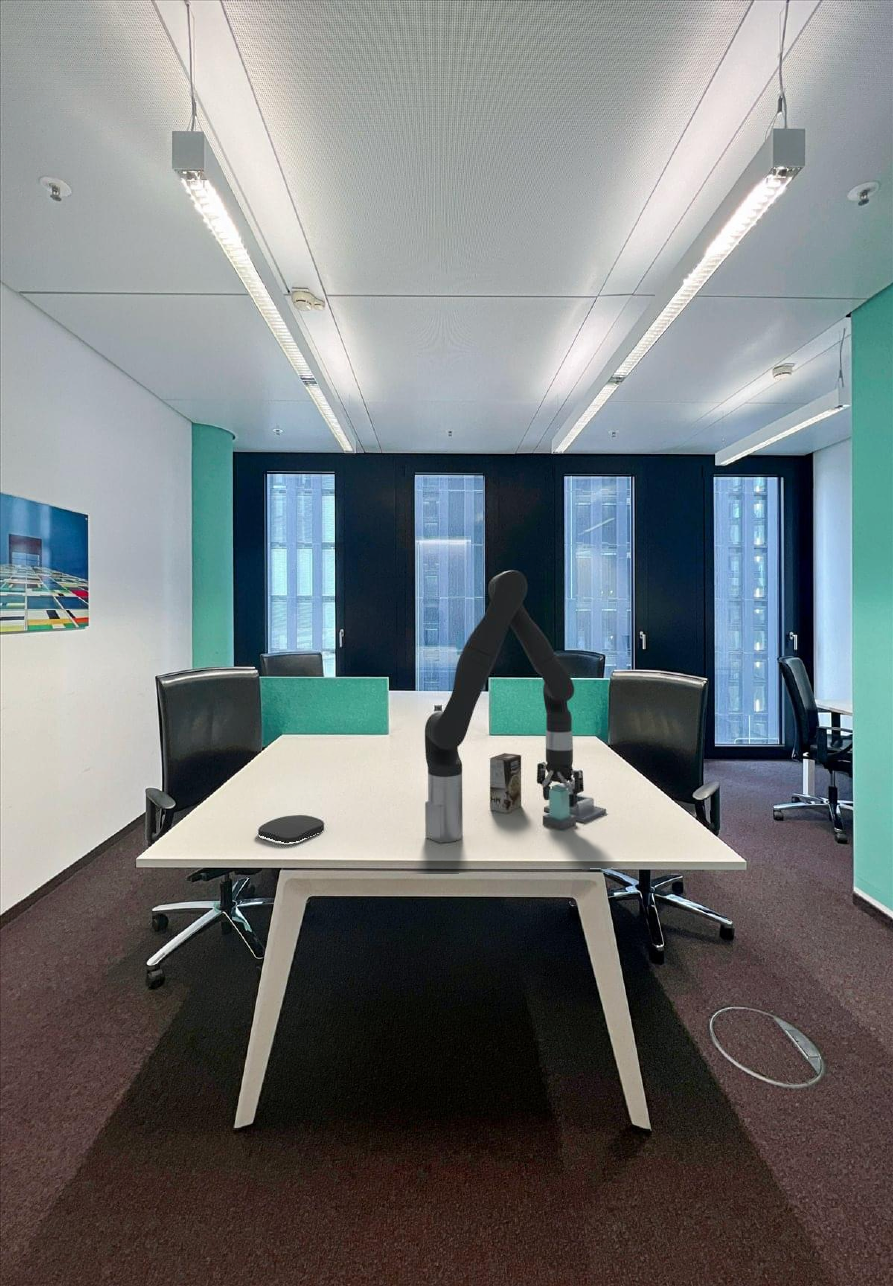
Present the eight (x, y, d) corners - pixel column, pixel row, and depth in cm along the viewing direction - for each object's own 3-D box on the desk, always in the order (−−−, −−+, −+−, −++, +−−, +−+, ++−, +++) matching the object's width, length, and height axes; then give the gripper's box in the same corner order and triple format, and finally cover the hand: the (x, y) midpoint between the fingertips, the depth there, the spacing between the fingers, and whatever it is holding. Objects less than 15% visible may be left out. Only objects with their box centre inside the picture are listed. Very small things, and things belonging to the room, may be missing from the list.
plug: (561, 828, 149) (560, 789, 149) (549, 824, 152) (549, 786, 152) (569, 824, 152) (569, 786, 152) (557, 821, 155) (557, 783, 155)
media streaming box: (290, 849, 138) (289, 837, 138) (252, 837, 145) (251, 826, 145) (330, 830, 150) (330, 819, 150) (293, 821, 158) (293, 811, 158)
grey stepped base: (583, 823, 153) (583, 808, 153) (543, 811, 164) (543, 797, 164) (606, 813, 161) (606, 799, 161) (567, 802, 172) (567, 789, 172)
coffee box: (507, 814, 162) (507, 760, 161) (489, 809, 165) (488, 757, 165) (522, 805, 169) (522, 754, 168) (504, 802, 173) (504, 752, 172)
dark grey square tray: (562, 830, 148) (562, 821, 148) (542, 824, 153) (542, 815, 152) (576, 824, 152) (575, 816, 152) (556, 818, 157) (556, 810, 157)
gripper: (530, 744, 155) (531, 800, 155) (572, 752, 144) (573, 812, 145) (546, 740, 160) (547, 794, 160) (588, 748, 149) (589, 806, 150)
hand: (559, 803), depth 152 cm, fingers open, 8 cm apart
